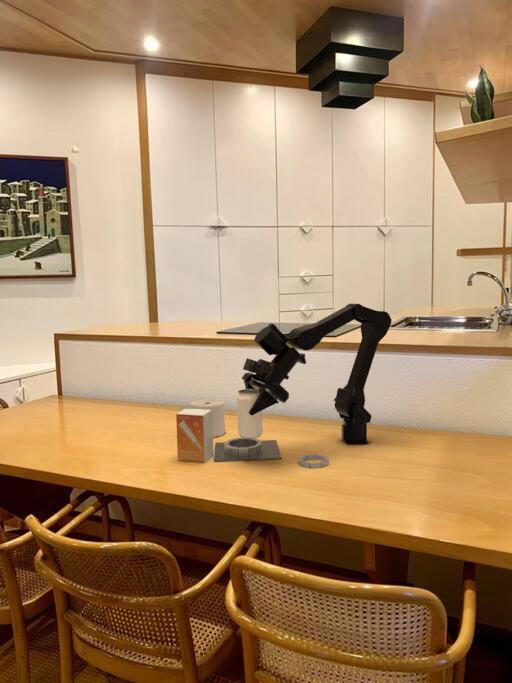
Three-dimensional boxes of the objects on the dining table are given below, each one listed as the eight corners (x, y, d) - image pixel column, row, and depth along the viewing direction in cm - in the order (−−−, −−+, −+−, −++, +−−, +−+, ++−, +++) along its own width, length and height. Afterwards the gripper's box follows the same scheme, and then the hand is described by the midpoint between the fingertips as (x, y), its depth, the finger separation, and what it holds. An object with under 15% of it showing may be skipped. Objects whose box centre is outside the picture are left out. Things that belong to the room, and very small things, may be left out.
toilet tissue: (232, 432, 168) (231, 401, 167) (204, 441, 159) (202, 409, 158) (209, 427, 175) (208, 397, 174) (181, 435, 166) (179, 404, 165)
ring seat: (276, 441, 157) (275, 433, 157) (281, 459, 141) (281, 450, 141) (215, 443, 156) (215, 436, 156) (213, 462, 140) (213, 453, 140)
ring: (325, 457, 141) (325, 453, 141) (330, 467, 134) (330, 463, 134) (297, 458, 141) (297, 455, 141) (301, 468, 134) (300, 464, 133)
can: (248, 440, 136) (246, 394, 135) (233, 435, 141) (231, 391, 140) (267, 435, 140) (266, 390, 139) (252, 430, 145) (251, 387, 144)
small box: (177, 460, 142) (175, 413, 141) (187, 453, 148) (185, 407, 147) (205, 463, 140) (203, 415, 138) (214, 455, 146) (212, 409, 144)
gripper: (246, 343, 148) (211, 387, 145) (276, 350, 131) (237, 400, 128) (273, 368, 152) (239, 411, 149) (305, 378, 135) (267, 426, 132)
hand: (244, 411), depth 139 cm, fingers closed on can, 6 cm apart
